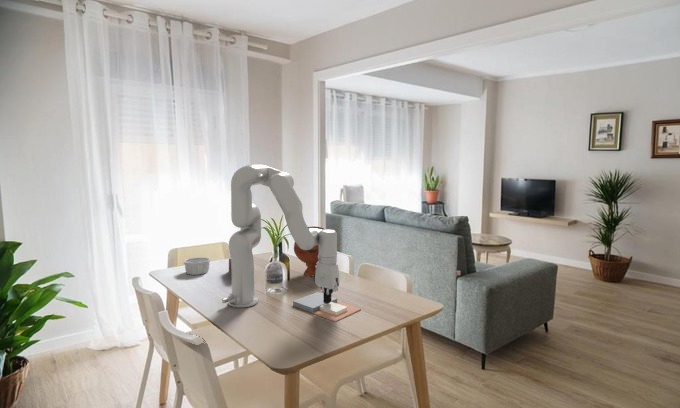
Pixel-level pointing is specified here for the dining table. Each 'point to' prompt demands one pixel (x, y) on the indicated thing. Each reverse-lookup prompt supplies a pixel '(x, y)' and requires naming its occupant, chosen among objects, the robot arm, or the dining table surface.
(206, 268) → the ramekin
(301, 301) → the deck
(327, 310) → the ceramic tile
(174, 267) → the dining table surface
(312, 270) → the goblet
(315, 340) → the dining table surface
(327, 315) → the mat
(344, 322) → the dining table surface
